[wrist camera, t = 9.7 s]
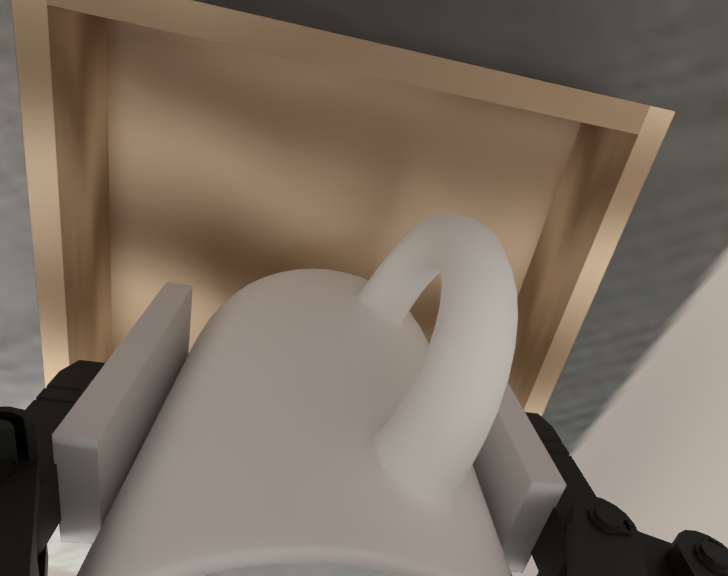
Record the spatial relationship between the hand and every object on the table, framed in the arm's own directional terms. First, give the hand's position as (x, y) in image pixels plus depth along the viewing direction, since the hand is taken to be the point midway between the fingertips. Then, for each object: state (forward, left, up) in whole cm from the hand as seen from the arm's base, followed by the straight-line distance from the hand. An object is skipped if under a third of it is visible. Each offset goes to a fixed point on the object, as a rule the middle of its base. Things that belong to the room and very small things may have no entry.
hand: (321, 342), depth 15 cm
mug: (0, +1, -1) cm, 2 cm away
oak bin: (0, 0, -5) cm, 5 cm away
